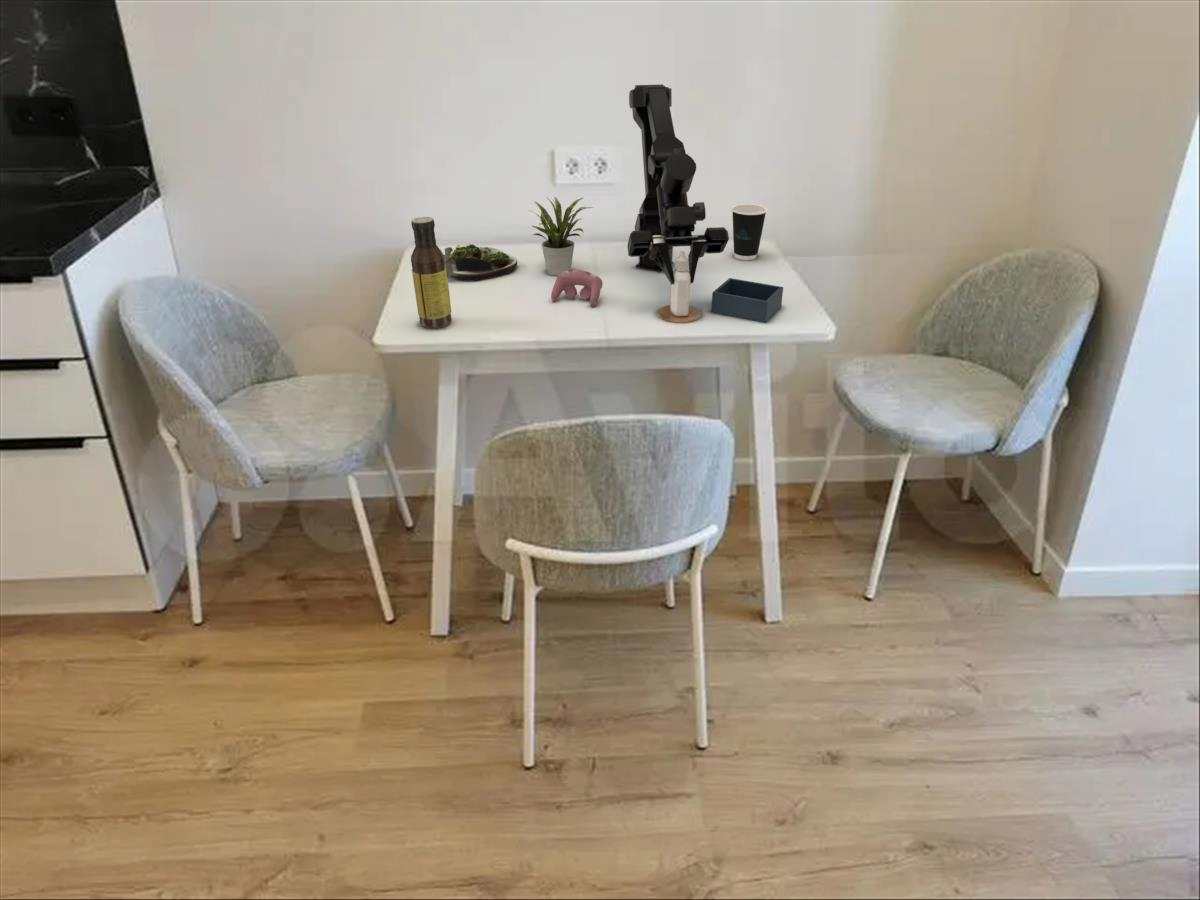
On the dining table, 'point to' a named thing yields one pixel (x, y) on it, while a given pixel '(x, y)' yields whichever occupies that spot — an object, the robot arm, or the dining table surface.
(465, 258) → the salad plate
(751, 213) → the dixie cup
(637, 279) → the dining table surface
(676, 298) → the eye dropper bottle
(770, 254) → the dining table surface
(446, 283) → the sauce bottle
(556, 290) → the video game controller
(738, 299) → the tub
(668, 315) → the coaster
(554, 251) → the house plant
